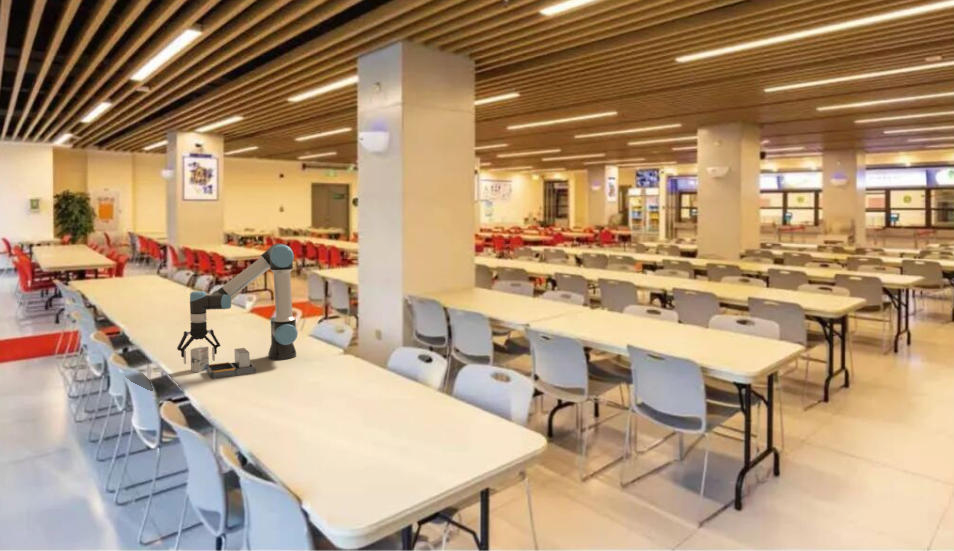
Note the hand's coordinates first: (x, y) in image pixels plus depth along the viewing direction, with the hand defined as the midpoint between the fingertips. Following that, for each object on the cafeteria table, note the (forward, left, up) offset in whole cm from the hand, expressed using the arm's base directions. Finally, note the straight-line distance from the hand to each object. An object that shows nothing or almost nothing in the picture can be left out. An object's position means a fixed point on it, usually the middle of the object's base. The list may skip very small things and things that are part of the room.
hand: (199, 361), depth 311 cm
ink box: (0, 0, -5) cm, 5 cm away
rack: (-13, +13, -4) cm, 19 cm away
